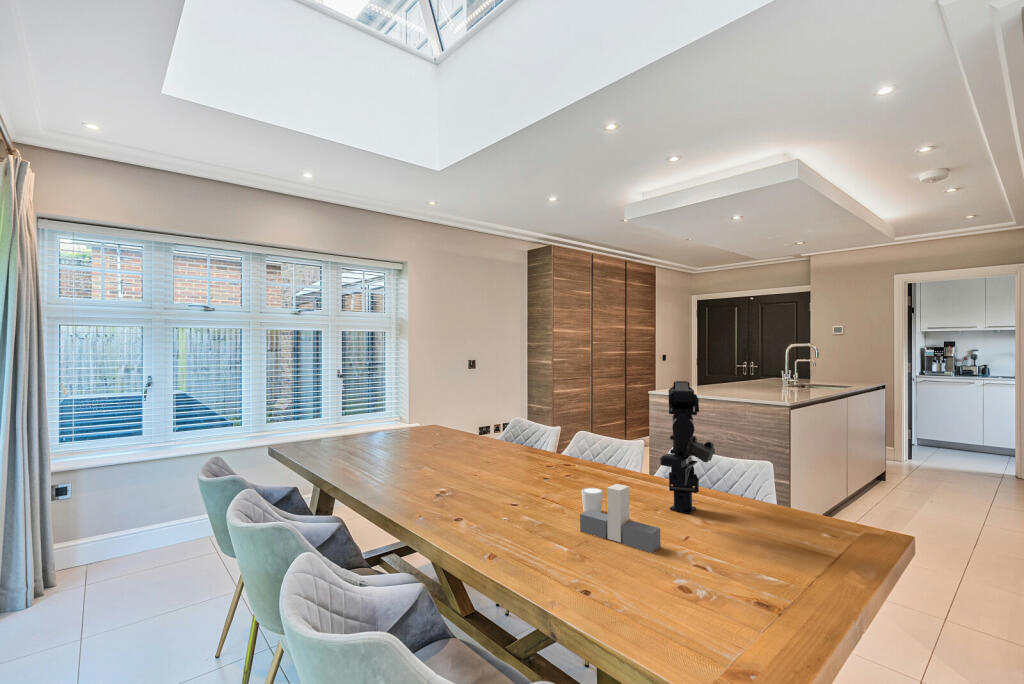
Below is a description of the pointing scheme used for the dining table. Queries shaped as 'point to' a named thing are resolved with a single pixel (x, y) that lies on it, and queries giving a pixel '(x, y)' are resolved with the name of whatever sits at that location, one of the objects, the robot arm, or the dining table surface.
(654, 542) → the grey blocks
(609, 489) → the peg block
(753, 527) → the dining table surface
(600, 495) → the shot glass
